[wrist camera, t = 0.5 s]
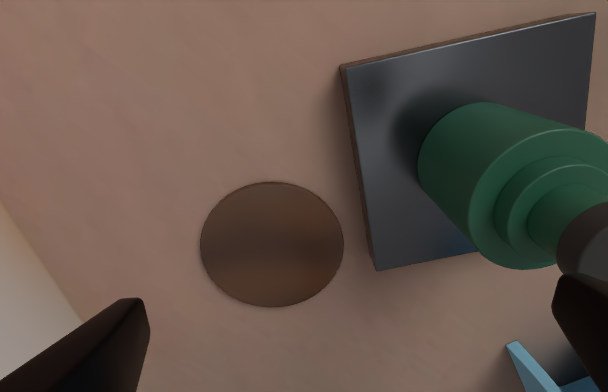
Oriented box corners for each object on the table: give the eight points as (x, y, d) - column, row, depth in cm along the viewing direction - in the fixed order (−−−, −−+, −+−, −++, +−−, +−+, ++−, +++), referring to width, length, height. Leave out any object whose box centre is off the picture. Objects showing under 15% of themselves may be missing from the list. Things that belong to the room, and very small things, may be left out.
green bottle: (526, 197, 21) (710, 318, 12) (421, 218, 21) (523, 353, 12) (530, 90, 18) (764, 139, 9) (412, 115, 19) (530, 188, 10)
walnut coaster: (352, 289, 25) (353, 293, 25) (225, 314, 26) (224, 318, 25) (329, 167, 22) (330, 169, 21) (181, 198, 22) (179, 201, 22)
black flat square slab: (552, 217, 24) (575, 232, 22) (369, 254, 24) (376, 272, 22) (567, 13, 19) (597, 11, 17) (338, 64, 19) (344, 67, 18)
